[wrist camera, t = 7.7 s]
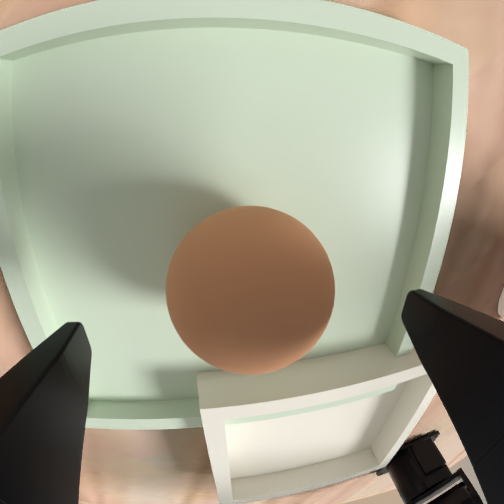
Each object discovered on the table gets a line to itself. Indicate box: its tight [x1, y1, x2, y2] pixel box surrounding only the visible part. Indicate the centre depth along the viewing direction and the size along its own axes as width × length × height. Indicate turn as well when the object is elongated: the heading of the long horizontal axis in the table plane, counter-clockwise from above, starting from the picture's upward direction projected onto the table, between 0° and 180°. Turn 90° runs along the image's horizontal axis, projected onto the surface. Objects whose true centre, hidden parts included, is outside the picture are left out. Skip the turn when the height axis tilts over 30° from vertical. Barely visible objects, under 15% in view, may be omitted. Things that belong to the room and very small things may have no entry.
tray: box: [0, 0, 469, 430], centre depth 11 cm, size 18×18×2 cm
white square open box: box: [197, 344, 437, 504], centre depth 18 cm, size 14×14×3 cm
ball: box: [166, 206, 335, 375], centre depth 9 cm, size 5×5×5 cm
